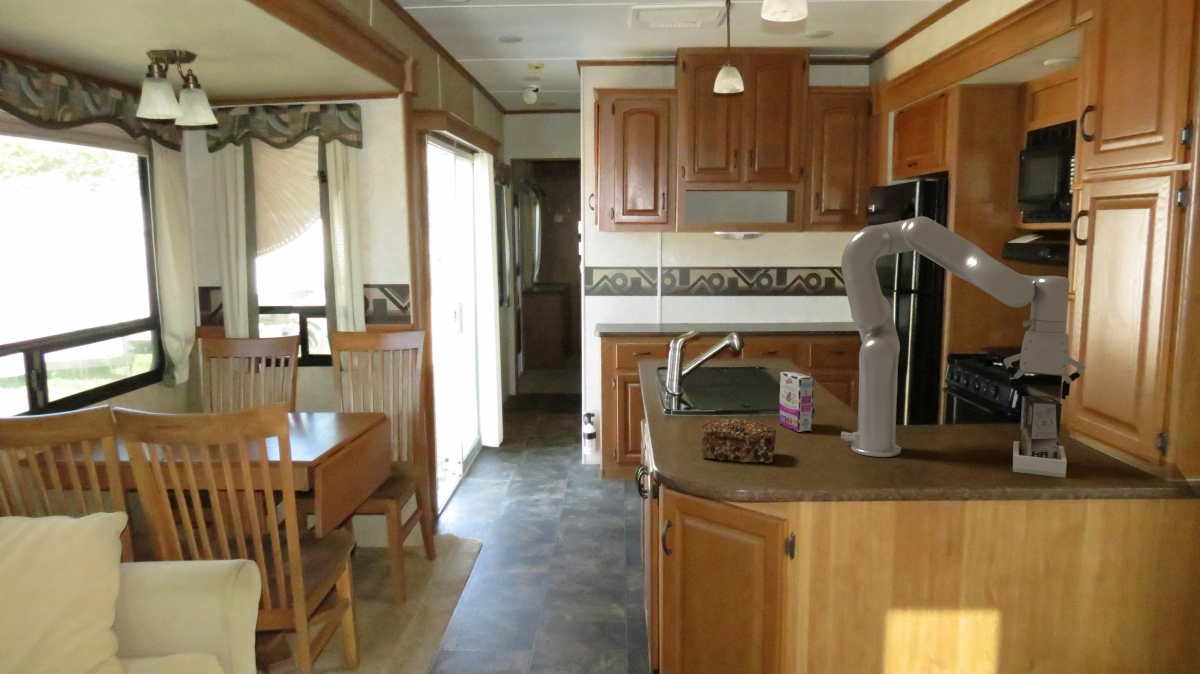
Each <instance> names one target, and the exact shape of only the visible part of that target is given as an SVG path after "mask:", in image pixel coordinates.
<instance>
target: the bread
mask: <svg viewBox="0 0 1200 674" xmlns="http://www.w3.org/2000/svg"><path fill="white" fill-rule="evenodd" d="M776 435H777V430H776V428H774V426H773V425H772V424H770V423H763V422H761V421H758V422H757V421H753V420H750V419H748V420H747V419H736V418H734V419H733V418H732V419H731V418H728V419H721V418H710V419H708V420H707V421H705V422H704V423H703V426H702V431H701V452H702V457H703V459H706V458H708V459H707V460H710V459H714V460H717V459H718V460H719V459H721V460H720V461H722V460H732V461H731V462H733V461H748V462H749V461H750V462H751V463H758V462H770V463H769V464H772V463H773V460H774V454H775V447H776V440H777V438H776V437H777V436H776ZM771 462H772V463H771Z"/></svg>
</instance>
